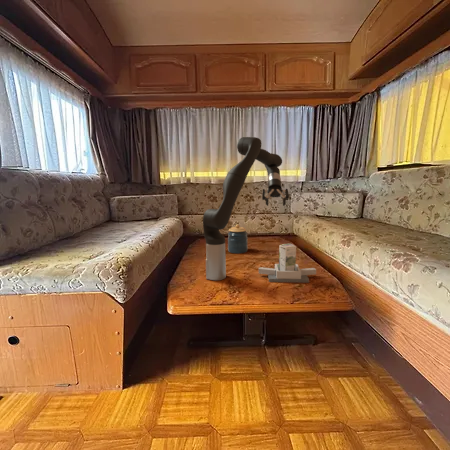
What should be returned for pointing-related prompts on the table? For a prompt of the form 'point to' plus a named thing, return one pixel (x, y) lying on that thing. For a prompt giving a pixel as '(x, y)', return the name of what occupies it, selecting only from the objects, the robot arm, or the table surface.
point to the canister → (237, 240)
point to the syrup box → (287, 257)
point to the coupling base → (288, 274)
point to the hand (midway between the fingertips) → (275, 204)
